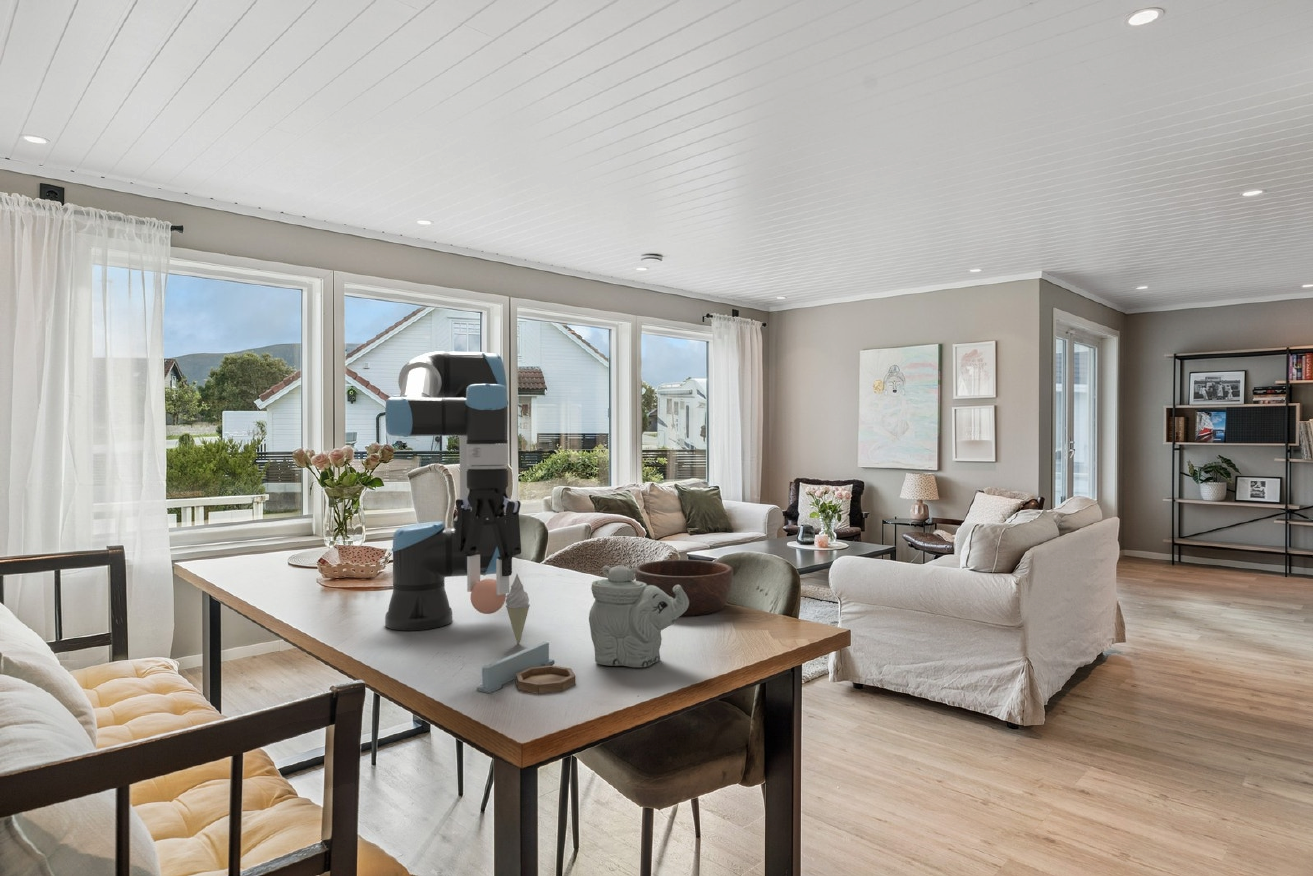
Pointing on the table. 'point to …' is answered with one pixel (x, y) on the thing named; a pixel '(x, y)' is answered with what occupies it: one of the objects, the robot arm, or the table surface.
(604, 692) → the table surface
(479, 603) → the ball
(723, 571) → the wooden bowl
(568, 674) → the cork ring
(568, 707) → the table surface
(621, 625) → the teapot
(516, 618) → the ice cream cone
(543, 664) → the low wall
